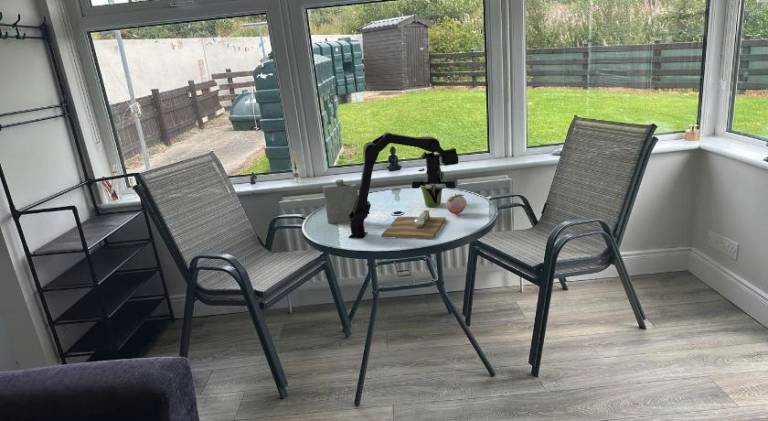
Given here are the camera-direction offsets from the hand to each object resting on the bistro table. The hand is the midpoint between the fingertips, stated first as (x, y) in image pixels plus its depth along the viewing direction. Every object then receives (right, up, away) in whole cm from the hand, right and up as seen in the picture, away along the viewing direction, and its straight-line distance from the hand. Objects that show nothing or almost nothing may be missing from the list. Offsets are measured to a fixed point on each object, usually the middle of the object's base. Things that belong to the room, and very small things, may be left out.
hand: (435, 202), depth 217 cm
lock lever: (-5, -8, +1) cm, 10 cm away
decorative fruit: (+10, -5, +12) cm, 17 cm away
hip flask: (-40, -9, +19) cm, 46 cm away
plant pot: (+2, -1, +29) cm, 29 cm away
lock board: (-9, -11, 0) cm, 14 cm away
